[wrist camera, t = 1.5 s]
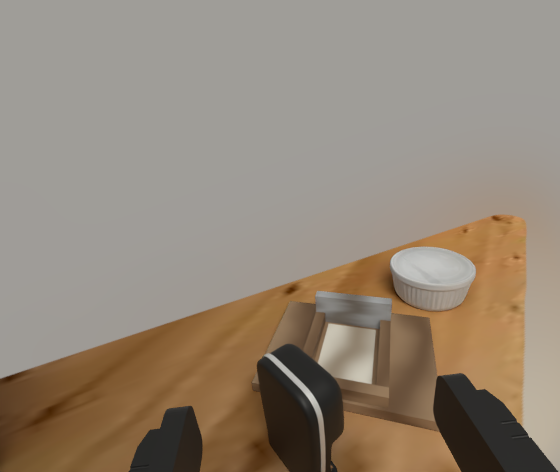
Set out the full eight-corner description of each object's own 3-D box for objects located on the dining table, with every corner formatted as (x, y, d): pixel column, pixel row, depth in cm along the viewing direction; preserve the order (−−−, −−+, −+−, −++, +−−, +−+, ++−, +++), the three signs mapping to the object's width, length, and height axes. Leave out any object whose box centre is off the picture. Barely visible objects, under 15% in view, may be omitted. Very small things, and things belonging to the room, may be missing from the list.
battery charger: (351, 477, 27) (351, 379, 22) (318, 511, 25) (310, 412, 20) (298, 418, 32) (288, 328, 27) (267, 443, 30) (251, 351, 25)
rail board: (253, 390, 36) (246, 355, 33) (290, 307, 48) (288, 278, 46) (442, 432, 30) (449, 392, 27) (428, 324, 42) (432, 292, 40)
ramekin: (376, 299, 48) (377, 269, 46) (405, 267, 56) (408, 240, 54) (456, 328, 41) (462, 295, 39) (478, 287, 49) (484, 257, 46)
